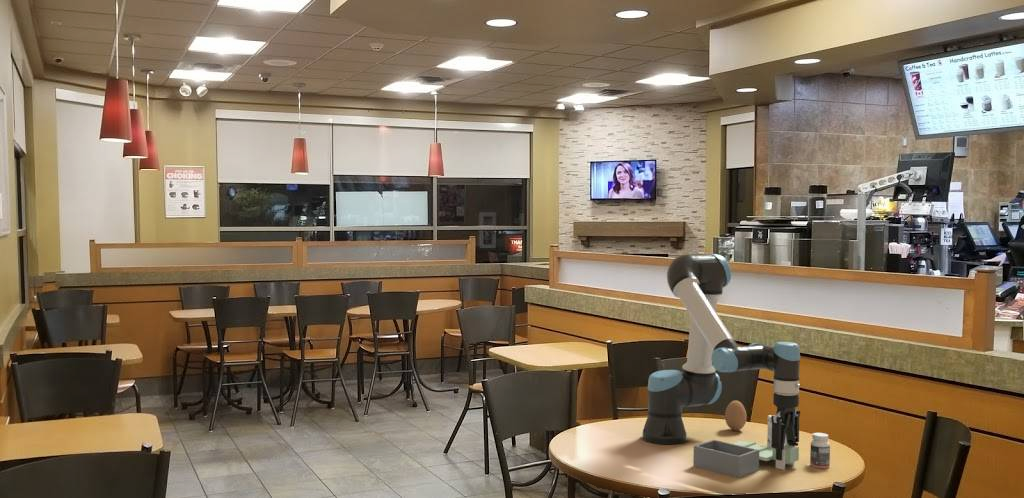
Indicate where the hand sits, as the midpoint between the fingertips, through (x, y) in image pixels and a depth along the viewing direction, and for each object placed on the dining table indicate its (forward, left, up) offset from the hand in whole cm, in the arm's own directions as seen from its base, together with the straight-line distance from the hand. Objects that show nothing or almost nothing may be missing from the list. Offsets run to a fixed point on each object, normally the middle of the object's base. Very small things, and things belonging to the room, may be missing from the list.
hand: (785, 468), depth 261 cm
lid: (-8, 0, +3) cm, 9 cm away
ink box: (-10, +14, -1) cm, 17 cm away
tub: (-11, -15, 0) cm, 19 cm away
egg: (-36, +30, -1) cm, 47 cm away
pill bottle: (+6, +11, -1) cm, 12 cm away
